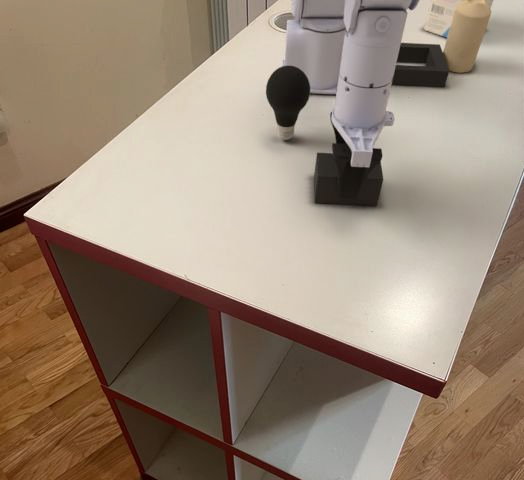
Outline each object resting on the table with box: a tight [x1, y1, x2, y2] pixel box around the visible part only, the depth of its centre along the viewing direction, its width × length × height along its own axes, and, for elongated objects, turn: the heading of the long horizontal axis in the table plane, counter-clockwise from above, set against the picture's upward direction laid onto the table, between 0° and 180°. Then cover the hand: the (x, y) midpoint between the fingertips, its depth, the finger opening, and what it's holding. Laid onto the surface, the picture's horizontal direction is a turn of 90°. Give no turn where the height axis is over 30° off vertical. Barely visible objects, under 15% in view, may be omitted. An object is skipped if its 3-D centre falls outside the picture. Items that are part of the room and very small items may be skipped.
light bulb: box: [265, 66, 311, 142], centre depth 70 cm, size 6×6×10 cm
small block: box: [313, 152, 384, 207], centre depth 65 cm, size 8×5×4 cm, turn 87°
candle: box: [442, 0, 492, 74], centre depth 84 cm, size 6×6×10 cm
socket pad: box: [391, 42, 450, 88], centre depth 85 cm, size 14×10×2 cm
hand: (346, 183), depth 66 cm, fingers closed on small block, 5 cm apart
